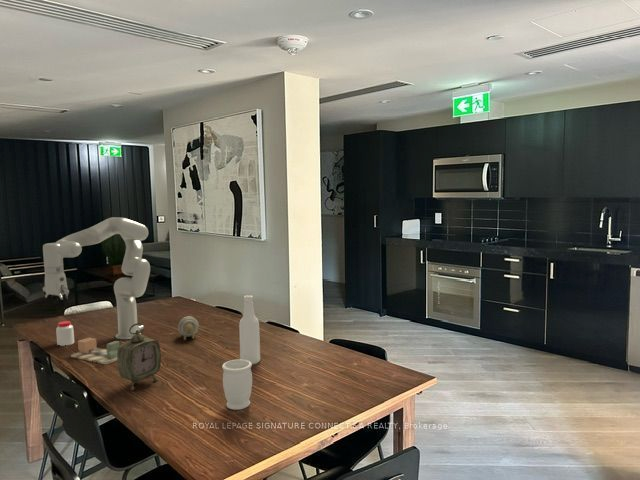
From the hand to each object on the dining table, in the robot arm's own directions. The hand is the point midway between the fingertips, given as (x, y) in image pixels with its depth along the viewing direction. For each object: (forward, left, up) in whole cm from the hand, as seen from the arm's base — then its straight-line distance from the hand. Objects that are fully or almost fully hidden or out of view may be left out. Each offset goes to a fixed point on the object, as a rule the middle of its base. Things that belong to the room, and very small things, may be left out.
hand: (57, 306), depth 215 cm
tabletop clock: (+6, +58, -25) cm, 63 cm away
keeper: (-9, +7, -23) cm, 26 cm away
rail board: (-9, +15, -24) cm, 30 cm away
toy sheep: (-50, +33, -25) cm, 64 cm away
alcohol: (-33, +84, -25) cm, 93 cm away
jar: (+4, +105, -25) cm, 108 cm away
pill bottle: (-15, -18, -25) cm, 34 cm away
